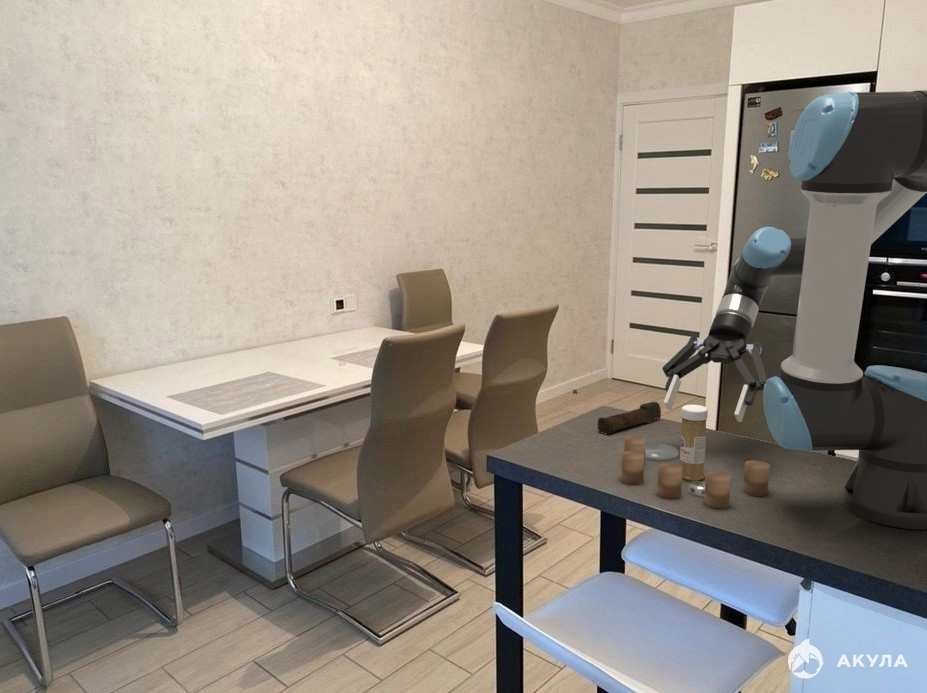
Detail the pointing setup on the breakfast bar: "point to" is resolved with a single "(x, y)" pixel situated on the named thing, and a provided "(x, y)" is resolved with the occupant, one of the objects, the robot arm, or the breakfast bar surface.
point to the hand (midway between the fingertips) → (701, 412)
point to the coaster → (660, 452)
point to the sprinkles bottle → (693, 441)
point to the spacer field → (672, 476)
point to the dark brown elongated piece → (630, 418)
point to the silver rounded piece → (697, 488)
